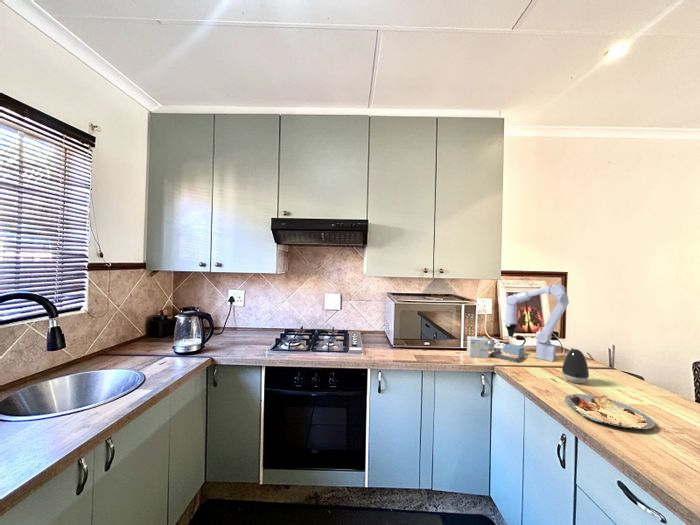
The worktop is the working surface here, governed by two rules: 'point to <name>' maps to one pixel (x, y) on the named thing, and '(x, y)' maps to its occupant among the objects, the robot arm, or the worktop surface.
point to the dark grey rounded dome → (575, 367)
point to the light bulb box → (477, 347)
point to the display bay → (496, 355)
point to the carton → (513, 349)
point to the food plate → (605, 407)
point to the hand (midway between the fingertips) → (510, 336)
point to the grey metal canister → (491, 344)
